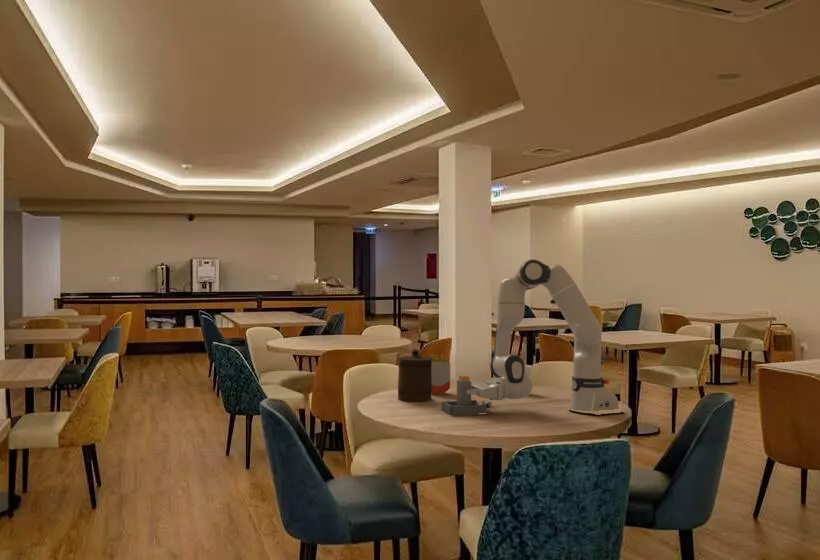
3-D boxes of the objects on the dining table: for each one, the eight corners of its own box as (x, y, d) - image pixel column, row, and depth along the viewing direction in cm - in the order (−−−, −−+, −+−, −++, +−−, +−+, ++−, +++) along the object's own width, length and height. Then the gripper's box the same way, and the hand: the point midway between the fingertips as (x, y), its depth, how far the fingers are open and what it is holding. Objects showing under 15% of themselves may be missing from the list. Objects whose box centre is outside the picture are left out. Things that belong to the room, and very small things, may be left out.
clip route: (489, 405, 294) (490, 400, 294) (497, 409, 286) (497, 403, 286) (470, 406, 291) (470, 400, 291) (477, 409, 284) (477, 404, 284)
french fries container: (427, 391, 325) (427, 353, 324) (450, 392, 323) (450, 354, 323) (425, 393, 320) (426, 354, 320) (448, 394, 318) (449, 355, 318)
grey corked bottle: (466, 409, 281) (467, 375, 281) (470, 411, 277) (471, 376, 276) (456, 409, 280) (457, 375, 280) (460, 412, 275) (461, 377, 275)
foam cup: (507, 392, 328) (507, 364, 328) (523, 391, 332) (523, 364, 332) (518, 395, 319) (518, 367, 319) (534, 394, 323) (535, 366, 323)
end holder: (475, 408, 286) (475, 400, 285) (486, 414, 275) (486, 405, 275) (441, 410, 281) (441, 401, 281) (450, 415, 271) (450, 406, 271)
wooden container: (417, 394, 316) (418, 346, 316) (438, 400, 304) (439, 350, 304) (391, 397, 307) (392, 348, 307) (411, 403, 295) (412, 351, 295)
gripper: (484, 377, 292) (453, 378, 288) (503, 385, 272) (471, 386, 268) (483, 392, 292) (452, 393, 288) (503, 401, 272) (470, 402, 268)
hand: (461, 389), depth 278 cm, fingers open, 8 cm apart
